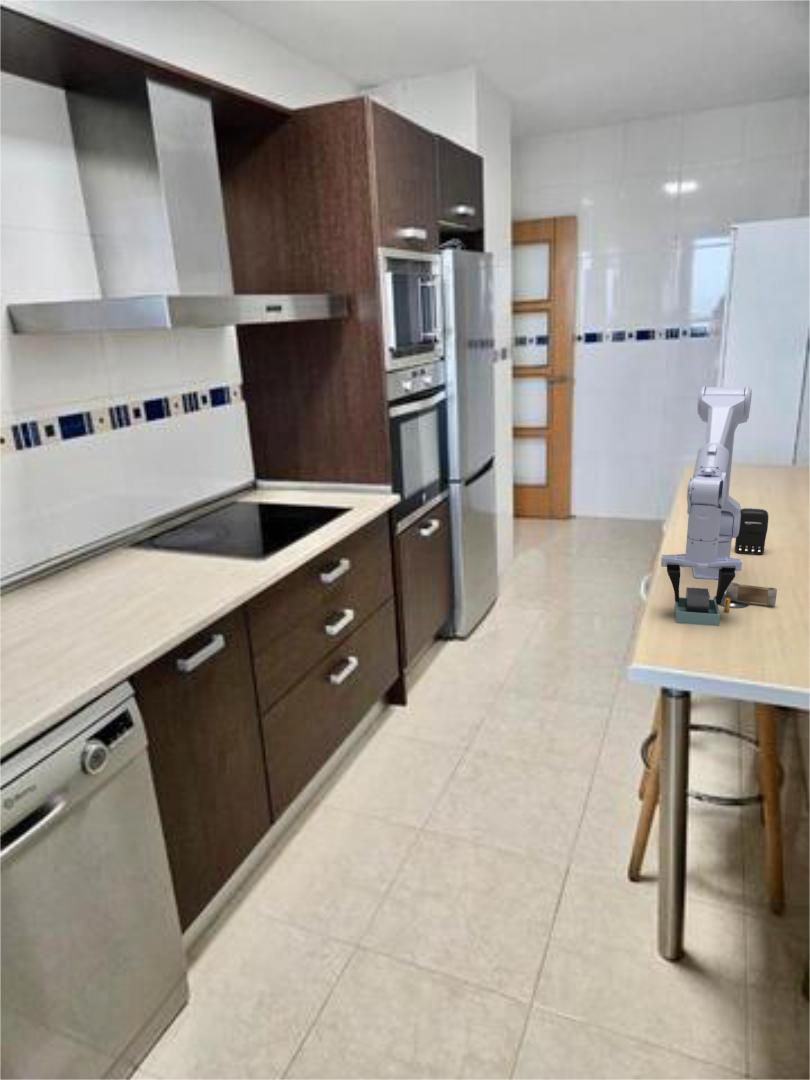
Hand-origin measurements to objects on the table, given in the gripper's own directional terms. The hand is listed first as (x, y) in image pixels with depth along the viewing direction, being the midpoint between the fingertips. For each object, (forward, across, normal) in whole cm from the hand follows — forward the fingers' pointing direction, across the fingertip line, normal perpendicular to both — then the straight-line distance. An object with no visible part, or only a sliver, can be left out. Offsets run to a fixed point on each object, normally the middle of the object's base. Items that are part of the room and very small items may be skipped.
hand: (697, 601), depth 139 cm
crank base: (+3, +8, +9) cm, 12 cm away
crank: (+3, +8, +9) cm, 12 cm away
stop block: (+3, 0, 0) cm, 3 cm away
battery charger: (+4, +15, +42) cm, 45 cm away
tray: (+3, 0, 0) cm, 3 cm away
